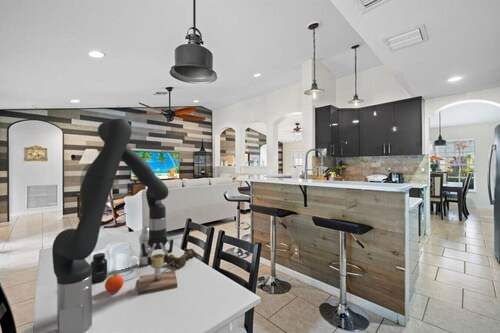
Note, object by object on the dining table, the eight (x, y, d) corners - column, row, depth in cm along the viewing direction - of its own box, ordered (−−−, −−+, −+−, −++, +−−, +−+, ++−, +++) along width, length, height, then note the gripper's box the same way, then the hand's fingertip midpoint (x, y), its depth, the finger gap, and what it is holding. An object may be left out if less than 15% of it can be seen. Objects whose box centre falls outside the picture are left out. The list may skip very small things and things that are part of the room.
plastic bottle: (139, 262, 128) (139, 227, 128) (152, 260, 131) (152, 225, 130) (138, 267, 122) (138, 230, 122) (152, 265, 125) (151, 228, 124)
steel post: (161, 280, 106) (161, 266, 106) (154, 282, 105) (154, 267, 105) (161, 277, 109) (161, 264, 108) (154, 278, 107) (154, 265, 107)
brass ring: (165, 266, 105) (164, 257, 105) (150, 268, 103) (150, 259, 103) (164, 261, 110) (164, 253, 110) (150, 263, 108) (150, 254, 108)
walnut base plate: (177, 287, 103) (177, 283, 103) (137, 294, 97) (137, 291, 97) (174, 273, 116) (174, 270, 116) (139, 279, 110) (139, 276, 110)
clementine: (98, 295, 97) (98, 278, 97) (110, 286, 104) (110, 270, 104) (115, 296, 96) (115, 279, 96) (127, 287, 103) (126, 271, 102)
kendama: (198, 258, 135) (174, 272, 117) (185, 256, 139) (160, 269, 121) (198, 248, 135) (174, 260, 117) (185, 246, 139) (160, 257, 121)
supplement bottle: (98, 284, 106) (98, 258, 105) (86, 282, 107) (86, 257, 107) (110, 276, 112) (110, 252, 112) (98, 275, 114) (98, 251, 113)
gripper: (139, 231, 100) (140, 269, 100) (174, 227, 105) (174, 264, 106) (140, 226, 107) (141, 262, 107) (173, 223, 112) (173, 257, 113)
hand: (157, 263), depth 106 cm, fingers closed on brass ring, 6 cm apart
